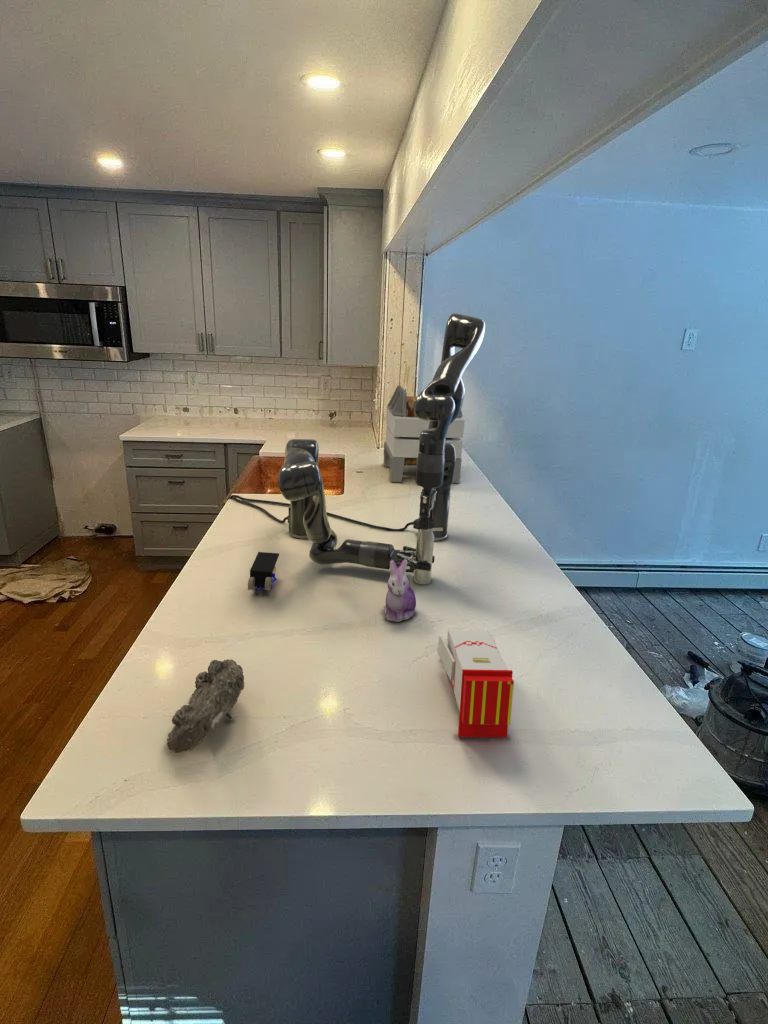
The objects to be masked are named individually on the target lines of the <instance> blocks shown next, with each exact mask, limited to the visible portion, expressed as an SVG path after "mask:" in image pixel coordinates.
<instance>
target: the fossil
mask: <svg viewBox="0 0 768 1024" xmlns="http://www.w3.org/2000/svg"><path fill="white" fill-rule="evenodd" d="M243 670H244V669H243V667H242V665H240V664H237V662H236V661H235V660H234V659H232V658H231V659H227V658H226V659H224V660H223V661H222V660H217V659H212V660H211V661H210V663H209V665H208V666H207V671H201V672H199V673H198V674H197V675H196V676H195V680H194V684H195V685H194V687H195V689H194V690H193V693H192V694H191V697H190V698H189V700H188V704H184V705H182V706H181V707H180V709H177V710H176V711H175V713H174V715H173V716H172V718H171V723H172V724H173V727H172V730H171V731H170V732H168V734H167V738H166V741H167V742H166V745H167V749H168V750H169V751H173V752H174V753H176V754H178V753H182V752H188V751H189V752H192V751H193V750H195V748H196V747H197V746H199V744H200V743H201V742H203V741H204V740H205V739H206V738H207V737H208V736H209V735H210V734H211V733H212V732H214V730H215V729H217V727H218V726H219V724H220V722H221V721H222V720H223V719H224V718H225V716H226V717H227V719H229V720H233V717H232V715H230V714H229V710H230V709H231V708H234V706H235V704H236V703H237V702H238V699H239V697H240V695H241V693H242V691H243V690H245V689H244V688H245V675H244V671H243Z"/></svg>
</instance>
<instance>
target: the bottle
mask: <svg viewBox="0 0 768 1024" xmlns="http://www.w3.org/2000/svg"><path fill="white" fill-rule="evenodd" d="M434 544H435V541H434V535H433V531H432V529H428V530H423V529H420V530H419V532H418V531H417V535H416V545H415V549H416V557H415V561H418V562H426V563H431V570H430V571H425V570H419V569H417V570H414V572H413V582H414V583H416V584H418V585H428V584H430V583H431V580H432V579H431V578H432V569H433V563H432V557H433V556H434V546H435V545H434Z"/></svg>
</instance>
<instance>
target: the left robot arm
mask: <svg viewBox="0 0 768 1024" xmlns="http://www.w3.org/2000/svg"><path fill="white" fill-rule="evenodd" d="M285 444H286V445H285V448H284V460H283V463H282V466H281V468H280V469H279V471H278V476H277V482H278V483H277V484H278V489H279V492H280V494H281V495H282V497H283V498H284V499H285V500H287V501H289V502H290V503H289V504H290V506H288V515H287V516H286V517H285V516H284V518H283V520H282V519H279V518H278V517H276V516H274V515H273V514H271V513H270V512H269V511H268V510H266V509H265V508H263V507H261V506H259V505H257V504H254V503H253V502H250V501H244V500H241V499H239V498H236V497H235V496H233V498H232V499H234V501H236V502H237V503H242V504H245V505H248V506H251V507H253V508H256V509H258V510H259V511H261V512H263V513H264V514H266V515H267V516H268V517H269V518H271V519H273V520H274V521H276V522H277V523H280V524H284V523H286V521H287V524H288V533H290V536H291V537H293V538H294V539H301V540H307V539H308V540H309V541H310V542H311V547H310V549H309V553H308V557H309V560H311V561H312V562H313V563H314V564H317V565H319V566H329V565H337V564H338V565H339V564H346V563H347V564H354V565H360V566H364V567H368V568H374V569H380V570H388V571H389V570H390V561H391V560H393V561H394V562H395V564H396V566H397V567H399V566H400V565H401V563H402V561H403V560H404V559H407V567H406V571H405V573H410V574H414V570H417V569H419V570H425V571H430V570H431V571H432V569H431V563H426V562H418V561H415V557H416V547H415V548H414V547H411V546H406V545H403V546H402V549H395V547H394V545H393V544H391V543H385V542H378V541H369V540H368V541H366V540H365V541H364V540H357V539H345V540H344V541H343V542H342V544H341V545H340V546H339V547H338V548H337V545H338V535H337V533H336V532H335V531H334V530H333V529H332V528H331V525H330V522H329V518H328V515H327V513H326V512H327V504H326V502H327V501H326V493H325V486H324V480H323V476H322V473H321V469H320V467H319V456H320V455H319V454H320V453H319V452H320V451H319V450H320V449H319V443H318V441H317V440H316V439H314V438H313V439H312V438H311V439H310V438H307V439H305V438H304V439H302V438H292V439H290V440H288V441H287V443H285ZM232 495H233V494H231V495H230V496H232ZM435 558H436V557H435V555H433V557H432V564H434V563H435V561H436V560H435Z"/></svg>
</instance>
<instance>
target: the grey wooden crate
mask: <svg viewBox="0 0 768 1024" xmlns="http://www.w3.org/2000/svg"><path fill="white" fill-rule="evenodd" d="M407 394H408V393H407V390H406V389H404V388H403V387H402V385H399V384H398V385H397V386H396V388H395V390H394V392H393V394H392V395H391V398H390V400H389V402H388V404H387V405H386V413H385V414H386V415H385V423H386V428H385V438H384V442H383V466H384V467H388V468H389V475H388V476H389V477H388V478H389V480H390V482H391V483H402V482H403V475H404V469H405V466H406V467H407V466H411V467H412V466H413V467H415V466H416V467H417V457H418V452H419V437H420V433H421V431H423V430H425V429H428V426H429V422H430V421H428V420H421V419H419V418H418V417H417V416H416V414H415V412H414V405H415V401H416V399H417V397H418V396H419V395H418V396H415V395H414V396H413V395H412V396H411V395H407ZM464 429H465V419H464V418H463V411H462V410H461V411H460V413H459V415H458V416H457V418H456V419H455V420H454V421H453V422H452V423H451V425H450V426H449V428H448V431H447V435H446V440H445V443H450V444H452V445H453V446H454V448H455V452H456V461H455V468H454V475H453V482H452V484H455V483H456V484H459V483H461V472H462V461H463V460H462V453H463V442H464V441H463V440H462V439H463V438H464V431H465V430H464Z"/></svg>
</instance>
